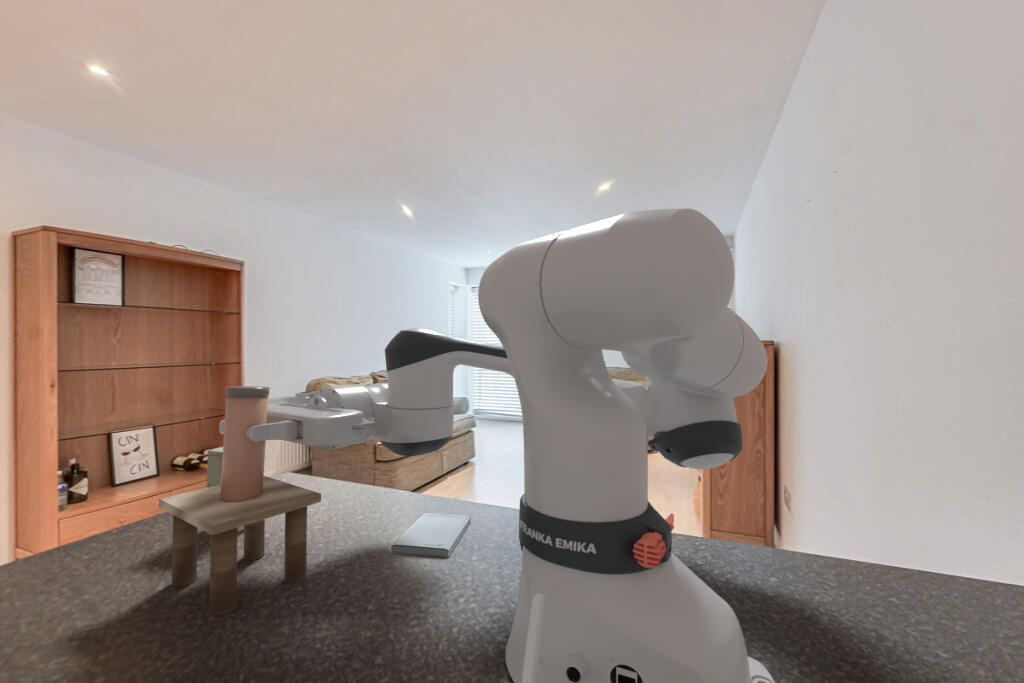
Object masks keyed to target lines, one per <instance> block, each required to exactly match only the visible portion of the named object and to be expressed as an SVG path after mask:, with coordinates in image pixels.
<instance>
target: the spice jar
mask: <svg viewBox="0 0 1024 683" xmlns="http://www.w3.org/2000/svg"><path fill="white" fill-rule="evenodd" d="M270 388H271V387H269V386H257V385H256V386H251V385H249V386H248V385H247V386H246V385H244V386H241V385H240V386H239V385H238V386H237V385H236V386H227V387H225V398H226V399H225V412H224V420H225V427H224V434H223V446H222V447H223V459H222V476H221V492H220V499H222V500H225V501H241V500H248V499H253V498H256V497H259V496H261V495H262V494H263V479H264V476H265V475H264V474H265V459H266V458H265V457H266V444H267V443H266V442H267V440H264V441H257V442H254V441H250V440H247V439H246V427H247V426H249V425H255V424H267V408H268V400H269V396H270Z"/></svg>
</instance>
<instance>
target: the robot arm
mask: <svg viewBox="0 0 1024 683" xmlns="http://www.w3.org/2000/svg"><path fill="white" fill-rule="evenodd" d="M735 275H736V274H735V263H734V258H733V255H732V251H731V248H730V245H729V243H728V241H727V239H726V238H725V236H724V234H723V233H722V232H721V230H720V229H719V227H718V226H717V225H716V224H715V223H714V222H713V221H712V220H710V218H708V217H707V216H706V215H704V214H703V213H702V212H700V211H698V210H696V209H694V208H693V209H692V208H665V209H664V208H662V209H648V210H647V209H646V210H637V211H629V212H626V213H621V214H619V215H618V214H617V215H616V216H611V217H608V218H605V219H601V220H598V221H595V222H591V223H589V224H584V225H581V226H578V227H574V228H570V229H566V230H563V231H559V232H555V233H553V234H549V235H545V236H541V237H538V238H536V239H533V240H531V239H530V240H529V241H525V242H521V243H519V244H517V245H516V246H514V247H513V248H511V249H510V250H507V251H506V252H505V253H504V254H502V255H500V256H499V257H497V258H496V259H495V260H494V261H492V262H491V263H490V264H489V265H488V266H487V268H486V269H485V270H484V271H483V274H482V276H481V277H480V281H479V284H478V289H477V290H478V293H477V296H478V297H477V298H478V307H479V310H480V314H481V316H482V318H483V320H484V322H485V324H486V326H487V327H488V328H489V329H490V330H491V331H492V332H493V333H494V334H495V336H496V337H497V338H498V340H499V341H500V343H501V345H496V344H492V343H488V342H481V341H477V340H470V339H463V338H457V337H454V336H451V335H448V334H445V333H443V332H440V331H436V330H433V329H429V328H421V327H417V328H416V327H415V328H414V327H412V328H407V329H404V330H403V329H402V330H400V331H398V333H397V334H395V335H394V336H393V338H392V339H390V341H389V342H388V344H387V345H386V347H385V349H384V357H385V366H386V367H385V368H386V372H387V382H379V383H378V382H377V383H372V384H370V385H368V386H363V385H358V384H350V385H348V384H347V385H337V386H335V385H334V386H325V387H322V388H319V389H316V390H313V391H311V390H310V391H299V392H295V396H290V397H289V396H288V397H283V398H281V397H280V398H274V399H268V408H267V424H255V425H249V426H247V427H246V439H247V440H250V441H254V442H257V441H264V440H266V441H285V442H290V443H295V444H299V445H303V446H308V447H313V448H324V449H327V450H335V449H340V448H343V447H349V446H354V445H358V444H362V443H365V441H368V440H372V439H374V440H375V439H376V440H379V442H380V444H381V445H382V446H383V447H385V448H386V449H387V450H389V451H391V452H392V453H393V454H395V455H399V456H402V457H403V456H404V457H415V456H416V457H417V456H421V455H426V454H430V453H434V452H435V453H436V452H437V451H439V450H441V449H442V448H443V447H445V445H447V444H448V443H449V442H450V440H451V439H452V437H453V436H454V435H453V434H454V413H455V412H454V407H455V405H454V371H455V368H456V367H458V366H459V365H460V366H467V367H473V368H478V369H485V370H490V371H494V372H501V373H506V374H507V375H510V376H511V377H512V378H514V381H515V386H516V389H517V393H518V398H519V403H520V410H521V416H522V427H523V428H522V430H523V431H522V434H523V436H522V437H523V475H524V477H523V482H524V486H523V487H524V489H523V490H524V491H523V492H524V493H523V494H522V496H521V497H520V499H519V511H518V512H519V514H518V515H519V518H518V538H519V545H520V549H521V553H522V555H521V565H520V566H521V568H520V578H519V579H520V580H519V586H518V588H519V589H518V594H517V602H516V606H515V611H514V618H513V621H512V627H511V629H510V632H509V636H508V640H507V643H506V647H505V651H504V652H505V656H504V657H505V664H506V669H507V671H508V674H509V675H510V678H511V679H512V681H513V683H776V682H775V680H774V677H773V676H772V675H771V673H770V672H769V671H768V669H767V668H766V666H764V664H763V663H762V662H761V661H759V660H756V659H754V658H753V657H751V656H748V651H747V647H746V646H747V645H746V642H745V638H744V634H743V631H742V627H741V625H740V622H739V619H738V617H737V615H736V613H735V611H734V610H733V608H732V607H731V606H730V605H729V603H728V602H727V601H726V600H725V599H723V598H722V597H721V596H720V595H719V594H717V593H716V592H715V591H714V590H713V589H712V588H711V587H710V586H708V585H707V584H706V583H705V582H704V581H703V580H702V579H701V578H700V577H698V575H697V574H695V573H694V571H692V570H691V569H690V568H689V567H688V566H687V565H685V564H684V562H683V561H681V559H679V558H678V557H677V556H676V554H673V552H672V548H673V545H672V542H673V541H672V540H673V538H672V532H673V530H674V529H675V514H673V513H672V512H671V513H669V515H668V516H667V518H664V517H663V516H662V515H661V514H660V513H659V512H658V511H657V510H656V509H655V508H654V507H653V505H652V504H651V503H650V501H649V486H648V485H649V478H648V476H649V471H648V470H649V464H648V463H649V458H648V456H649V453H648V450H649V449H648V447H649V448H650V450H653V452H659V454H660V455H661V456H662V457H663V458H664V459H666V460H667V461H669V462H670V463H672V464H674V465H676V466H678V467H681V468H689V469H695V470H710V469H715V468H718V467H720V466H723V465H725V464H727V463H728V462H730V461H733V460H735V459H736V458H737V457H738V456H739V455H740V453H741V452H742V450H743V432H742V426H741V424H739V423H738V418H737V412H736V406H735V402H734V398H737V397H742V396H745V395H747V394H748V393H750V392H751V391H753V390H754V389H756V387H758V386H759V385H760V383H761V382H762V380H763V378H764V377H765V374H766V372H767V370H768V368H767V367H768V362H769V361H768V360H769V359H768V354H767V353H768V352H767V350H766V347H765V345H764V343H763V341H762V340H761V338H760V337H759V335H758V334H757V333H756V332H755V331H754V329H753V328H752V327H751V326H750V325H749V324H748V323H747V322H746V321H745V320H744V319H743V318H742V317H741V316H739V315H738V314H737V312H735V311H733V310H732V309H730V307H728V306H729V304H730V301H731V298H732V296H733V293H734V292H733V290H734V285H735ZM603 350H605V351H616V352H620V353H621V356H622V358H623V360H624V361H625V363H626V364H627V365H628V367H629V368H630V369H632V370H633V371H634V372H635V373H637V374H639V375H640V376H644V377H645V381H646V385H645V384H644V383H640V382H636V381H632V380H626V379H619V378H612V377H611V375H610V373H609V371H608V367H607V364H606V361H605V359H604V353H603ZM224 427H225V419H222V420H220V422H219V429H218V430H219V433H220V434H221V435H224ZM650 438H651V439H650ZM649 439H650V440H649Z"/></svg>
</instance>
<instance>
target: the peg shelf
mask: <svg viewBox="0 0 1024 683" xmlns="http://www.w3.org/2000/svg"><path fill="white" fill-rule="evenodd" d="M220 492H221V485H217V486H213V487H209V488H207V487H205V488H200V489H197V490H191V491H187V492H184V493H183V492H182V493H179V494H174V495H169V496H165V497H159V498H158V508H160V509H162V510H164V511H166V512H168V513H169V514H171V515H172V546H171V548H172V549H171V552H172V553H171V554H172V555H171V586H172V587H174V588H180V587H186V586H189V585H191V584H193V583H195V582H196V580H197V579H198V575H197V574H198V572H197V571H198V530H202V531H203V532H205V533H207V534H209V535H210V558H209V559H210V565H209V569H210V570H209V573H210V574H209V615H210V616H211V617H221V616H224V615H228V614H230V613H231V612H233V611H234V610H236V608H237V599H238V598H237V596H238V595H237V591H238V590H237V588H238V587H237V586H238V581H237V580H238V533H237V531H238V527H241V526H244V530H243V559H244V560H245V561H254V560H258V559H261V558H262V557H264V556H265V541H266V540H265V538H266V537H265V535H266V534H265V531H266V529H265V528H266V526H265V525H266V524H265V523H266V521H265V520H266V519H270V518H273V517H276V516H279V515H282V514H284V569H283V570H284V573H283V574H284V577H283V578H284V579H283V580H284V582H285V583H287V584H288V583H289V584H293V583H299V582H301V581H303V580H305V579H306V577H307V559H308V558H307V552H308V551H307V548H308V546H307V543H308V542H307V541H308V538H307V537H308V536H307V535H308V507H309V506H312V505H315V504H318V503H322V493H320V492H317V491H314V490H310V489H307V488H304V487H301V486H297V485H296V484H291V483H289V482H285V481H282V480H279V479H276V478H273V477H270V476H266V475H264V479H263V494H262V495H261V496H259V497H256V498H253V499H248V500H241V501H225V500H222V499H220Z"/></svg>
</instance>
